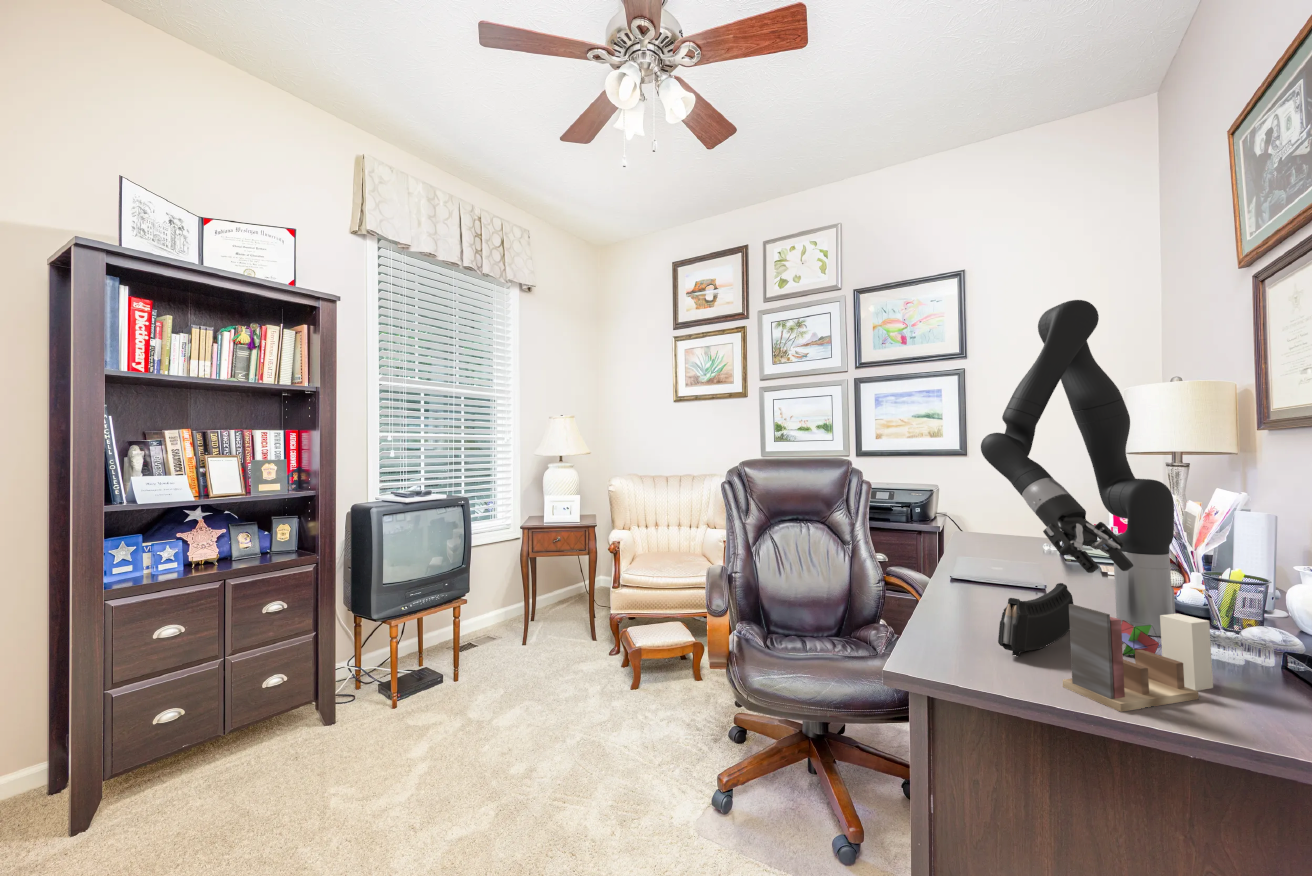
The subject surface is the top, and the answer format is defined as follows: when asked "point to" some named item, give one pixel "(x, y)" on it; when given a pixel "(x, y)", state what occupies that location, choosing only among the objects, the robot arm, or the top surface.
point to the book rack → (1119, 666)
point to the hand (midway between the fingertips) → (1111, 569)
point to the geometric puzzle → (1137, 638)
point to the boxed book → (1188, 648)
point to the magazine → (1035, 621)
